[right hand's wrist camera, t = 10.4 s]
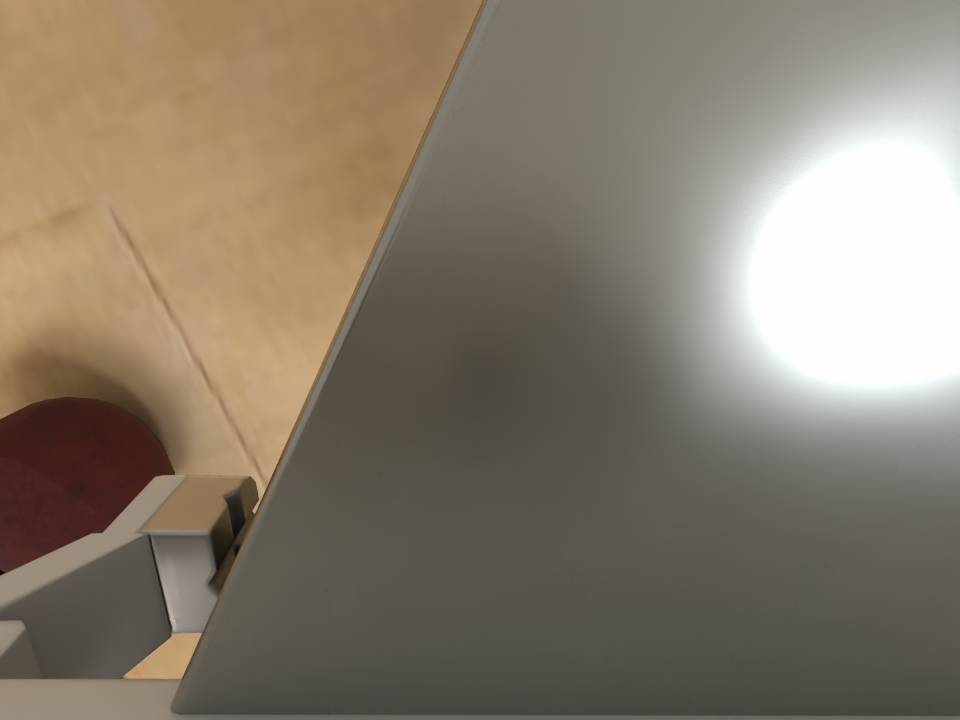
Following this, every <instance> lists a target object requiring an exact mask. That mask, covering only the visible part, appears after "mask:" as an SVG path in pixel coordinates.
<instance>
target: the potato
mask: <svg viewBox="0 0 960 720" xmlns="http://www.w3.org/2000/svg"><path fill="white" fill-rule="evenodd" d="M162 475H175V472H174V470H173V467H172V465H171V463H170V460H169V458H168V456H167V454H166V451H165V449H164V447H163V444H162V443H161V442H160V441H159V440H158V438H157V437H156V436H155V435H154V434H153V433H152V432H151V431H150V429H149V428H148V427H147V426H146V425H145V424H144V423H143V421H142V420H140V419H139V418H137V417H135V416H134V415H132V414H130V413H128V412H127V411H125V410H123V409H122V408H120V407H118V406H115V405H112V404H109V403H106V402H102V401H99V400H95V399H86V398H75V397H64V398H57V399H50V400H45V401H41V402H37V403H34V404H31V405H29V406H27V407H24V408H22V409H20V410H18V411H16V412H14V413H12V414H10V415H8V416H6V417H4V418H2V419H0V570H2V571H3V572H6V573H8V572H10V571H12V570H14V569H16V568H19V567H21V566H23V565H25V564H27V563H29V562H31V561H34V560H36V559H38V558H40V557H42V556H44V555H47V554H49V553H51V552H53V551H55V550H57V549H59V548H62V547H64V546H66V545H68V544H70V543H72V542H74V541H77V540H79V539H81V538H83V537H85V536H87V535H90V534H92V533H103V532H104V531H105V530H106V529H107V528H108V527H109V526H110V524H111V523H112V522H113V521H114V520H115V519H116V518H117V517H118V516H119V515H120V514H121V513H122V512H123V511H124V510H125V508H126V507H127V506H128V505H129V504H130V503H131V502H132V501H133V500H134V499H135V498H136V497H137V496H138V495H139V493H140V492H141V491H142V490H143V489H144V488H145V487H146V486H147V485H148V484H149V483H150V482H151V481H152V480H153V479H154V477H157V476H162Z"/></svg>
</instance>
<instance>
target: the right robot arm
mask: <svg viewBox="0 0 960 720" xmlns="http://www.w3.org/2000/svg"><path fill="white" fill-rule="evenodd" d="M258 500H259V497H258V492H257V487H256V482H255V481H254V480H253V479H252V478H251V476H203V475H192V476H190V475H162V476H157V477H154V479H153V480H152V481H151V482H150V483H149V484H148V485H147V486H146V487H145V488H144V489H143V490H142V491H141V492H140V493H139V495H138V496H137V497H136V498H135V499H134V500H133V501H132V502H131V503H130V504H129V505H128V506H127V507H126V508H125V510H124V511H123V512H122V513H121V514H120V515H119V516H118V517H117V518H116V519H115V520H114V521H113V522H112V523H111V524H110V526H109V527H108V528H107V529H106V530H105V531H104V532H103V533H92V534H90V535H87V536H85V537H83V538H81V539H79V540H77V541H74V542H72V543H70V544H68V545H66V546H64V547H62V548H59V549H57V550H55V551H53V552H51V553H49V554H47V555H44V556H42V557H40V558H38V559H36V560H34V561H31V562H29V563H27V564H25V565H23V566H21V567H19V568H16V569H14V570H12V571H10V572H8V573H6V574H3V575H1V576H0V720H960V716H629V715H179V714H176V713H173V712H171V707H170V705H171V703H172V700H173V698H174V696H175V694H176V691H177V689H178V687H179V685H180V682H181V680H182V679H120V678H121V677H122V676H124V675H125V674H126V673H127V672H129V671H130V670H131V669H132V668H133V667H135V666H136V665H137V664H138V663H140V662H141V661H142V660H143V659H145V658H146V657H147V656H148V655H149V654H151V653H152V652H153V651H154V650H156V649H157V648H158V647H159V646H160V645H162V644H163V643H164V642H165V641H167V640H168V639H169V638H170V637H171V636H172V635H171V634H172V633H203V630H204V628H205V626H206V624H207V621H208V619H209V617H210V615H211V612H212V610H213V608H214V606H215V603H216V601H217V599H218V597H219V594H220V592H221V590H222V588H223V585H224V583H225V581H226V579H227V576H228V574H229V572H230V570H231V567H232V565H233V563H234V561H235V558H236V556H237V554H238V552H239V549H240V547H241V545H242V543H243V540H244V538H245V536H246V534H247V531H248V529H249V527H250V525H251V522H252V520H253V518H254V515H255V514H254V513H253V512H252V510H253V509H254V507H255V505H256V504H257V502H258Z"/></svg>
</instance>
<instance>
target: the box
mask: <svg viewBox="0 0 960 720" xmlns="http://www.w3.org/2000/svg"><path fill="white" fill-rule="evenodd" d="M170 707H171V712H173V713H176V714H179V715H629V716H960V0H483V1H482V4H481V6H480V8H479V10H478V13H477V15H476V17H475V19H474V22H473V24H472V26H471V28H470V31H469V33H468V35H467V37H466V40H465V42H464V44H463V46H462V49H461V51H460V53H459V55H458V58H457V60H456V62H455V65H454V67H453V69H452V71H451V74H450V76H449V78H448V80H447V83H446V85H445V87H444V89H443V92H442V94H441V96H440V98H439V101H438V103H437V105H436V107H435V110H434V112H433V114H432V116H431V119H430V121H429V123H428V125H427V128H426V130H425V132H424V134H423V137H422V139H421V141H420V143H419V146H418V148H417V150H416V152H415V155H414V157H413V159H412V161H411V164H410V166H409V168H408V170H407V173H406V175H405V177H404V180H403V182H402V184H401V186H400V189H399V191H398V193H397V195H396V198H395V200H394V202H393V204H392V207H391V209H390V211H389V213H388V216H387V218H386V220H385V222H384V225H383V227H382V229H381V231H380V234H379V236H378V238H377V240H376V243H375V245H374V247H373V249H372V252H371V254H370V256H369V258H368V261H367V263H366V265H365V267H364V270H363V272H362V274H361V276H360V279H359V281H358V283H357V285H356V288H355V290H354V292H353V295H352V297H351V299H350V301H349V304H348V306H347V308H346V310H345V313H344V315H343V317H342V319H341V322H340V324H339V326H338V328H337V331H336V333H335V335H334V337H333V340H332V342H331V344H330V346H329V349H328V351H327V353H326V355H325V358H324V360H323V362H322V364H321V367H320V369H319V371H318V373H317V376H316V378H315V380H314V382H313V385H312V387H311V389H310V391H309V394H308V396H307V398H306V400H305V403H304V405H303V407H302V410H301V412H300V414H299V416H298V419H297V421H296V423H295V425H294V428H293V430H292V432H291V434H290V437H289V439H288V441H287V443H286V446H285V448H284V450H283V452H282V455H281V457H280V459H279V461H278V464H277V466H276V468H275V470H274V473H273V475H272V477H271V479H270V482H269V484H268V486H267V488H266V491H265V493H264V495H263V497H262V500H261V502H260V504H259V506H258V509H257V511H256V513H255V515H254V518H253V520H252V522H251V525H250V527H249V529H248V531H247V534H246V536H245V538H244V540H243V543H242V545H241V547H240V549H239V552H238V554H237V556H236V558H235V561H234V563H233V565H232V567H231V570H230V572H229V574H228V576H227V579H226V581H225V583H224V585H223V588H222V590H221V592H220V594H219V597H218V599H217V601H216V603H215V606H214V608H213V610H212V612H211V615H210V617H209V619H208V621H207V624H206V626H205V628H204V630H203V633H202V635H201V637H200V640H199V642H198V644H197V646H196V649H195V651H194V653H193V655H192V658H191V660H190V662H189V664H188V667H187V669H186V671H185V673H184V676H183V678H182V680H181V682H180V685H179V687H178V689H177V691H176V694H175V696H174V698H173V700H172V703H171V705H170Z"/></svg>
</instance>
